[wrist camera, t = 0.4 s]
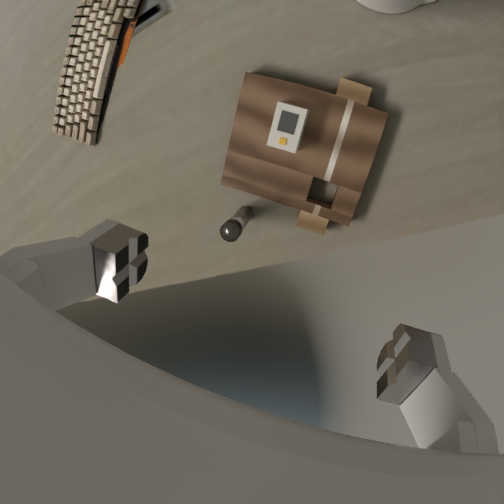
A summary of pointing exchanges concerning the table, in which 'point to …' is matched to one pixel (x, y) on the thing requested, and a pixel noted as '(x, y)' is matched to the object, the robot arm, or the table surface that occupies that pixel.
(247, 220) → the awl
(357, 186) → the board
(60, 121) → the mechanical keyboard
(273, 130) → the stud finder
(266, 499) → the robot arm
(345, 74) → the table surface
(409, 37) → the table surface
